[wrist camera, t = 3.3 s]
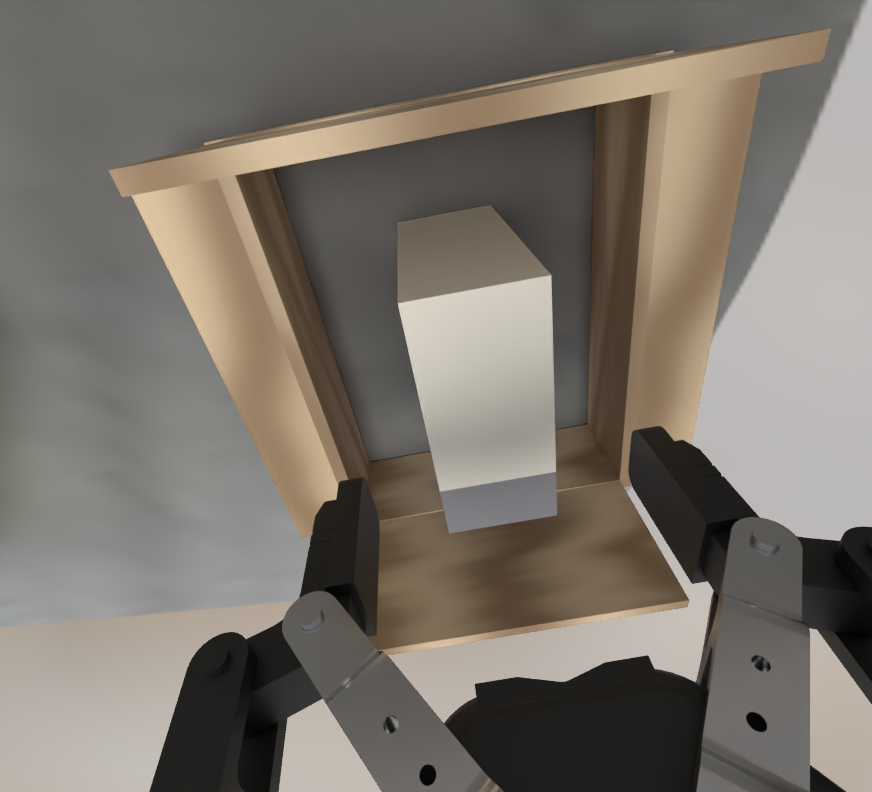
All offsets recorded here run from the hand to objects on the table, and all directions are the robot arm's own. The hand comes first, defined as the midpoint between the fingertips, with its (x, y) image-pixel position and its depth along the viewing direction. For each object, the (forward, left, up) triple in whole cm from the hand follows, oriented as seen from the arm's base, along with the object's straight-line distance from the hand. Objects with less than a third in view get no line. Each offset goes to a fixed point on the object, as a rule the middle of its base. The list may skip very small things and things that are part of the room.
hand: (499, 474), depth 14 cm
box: (0, 0, -12) cm, 12 cm away
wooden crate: (0, 0, -12) cm, 12 cm away
